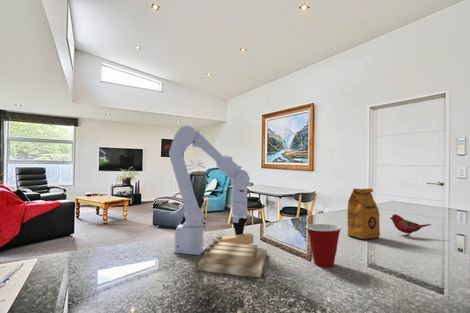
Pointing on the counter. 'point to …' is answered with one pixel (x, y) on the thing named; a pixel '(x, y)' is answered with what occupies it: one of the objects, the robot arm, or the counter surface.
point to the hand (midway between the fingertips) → (239, 238)
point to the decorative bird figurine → (406, 225)
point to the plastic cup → (324, 243)
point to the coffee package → (363, 215)
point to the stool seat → (233, 259)
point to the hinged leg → (236, 239)
